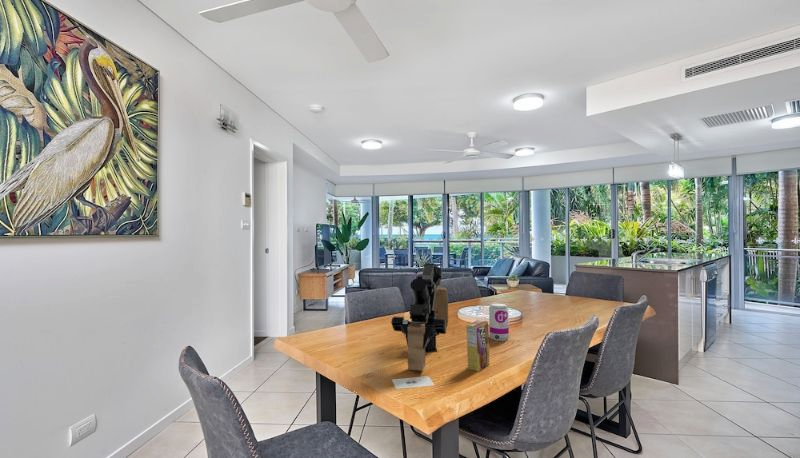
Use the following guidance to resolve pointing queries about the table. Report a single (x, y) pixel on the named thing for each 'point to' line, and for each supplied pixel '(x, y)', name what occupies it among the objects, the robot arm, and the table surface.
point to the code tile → (412, 382)
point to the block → (441, 304)
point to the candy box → (478, 345)
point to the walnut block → (416, 346)
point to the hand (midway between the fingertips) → (415, 347)
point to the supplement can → (498, 322)
